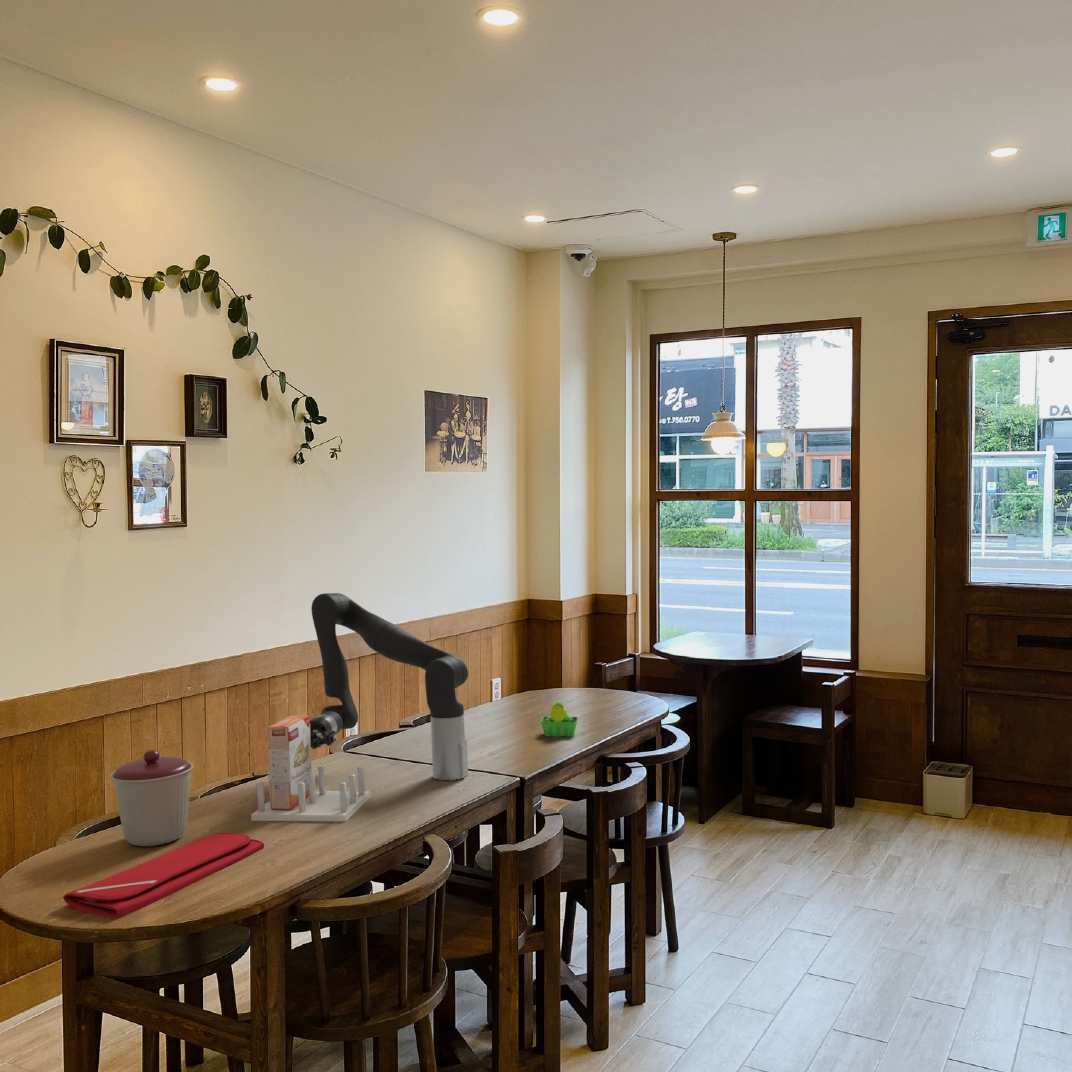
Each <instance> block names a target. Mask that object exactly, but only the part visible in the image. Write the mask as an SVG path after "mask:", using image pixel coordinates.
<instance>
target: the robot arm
mask: <svg viewBox="0 0 1072 1072" xmlns="http://www.w3.org/2000/svg"><path fill="white" fill-rule="evenodd" d="M310 611H311V616H312V620H313V621H312V622H313V627H314V630H315V633H316V634H315V635H316V638H317V641H318V642H317V643H318V645H319V646H318V647H319V650H320V651H319V652H320V656H321V661H322V671H323V681H324V682H323V684H324V693H325V696H327V697H328V698H335V699H338V700H339V701H340V703H341V704H335V705H328V706H324V707H323V708H322V710H321V711H320V712H321V713H320V715H317V716H314V717H313V718H310V738H311V750H316V749H319V748H321V747H323V746H325V745H326V746H327V747H328V746H329V747H330V746H332V745H333V744H334V743H335V742H336V741H337V734H339V732H341V730H348V729H353V728H355V727H356V725H357V723H358V721H359V714H358V711H357V707H356V704H355V702H354V699H353V697H352V692H351V689H350V679H349V678H350V677H349V668H348V664H347V661H346V658H345V656H344V653H343V651H342V650H341V648H340V645H339V642H338V641H339V640H338V638H337V632H336V631H337V630H336V629H337V627H336V625H339V626H343V627H344V628H346V629H347V628H348V629H349V630H351V631H353V632H355V633H356V634H358V635H359V636H360V637H361V638H362V639H363V641H364V643H365V644H366V645H367V646H368V648H370V649H371V650H373V651H374V652H376V653H377V654H380V655H381V656H383V657H385V658H387V659H389V660H391V661H394V662H397V663H401V664H406V665H409V666H414V667H417V668H420V669H422V670H424V671H425V672H424V673H425V674H424V686H425V696H426V703H427V704H426V705H427V707H428V709H429V713H430V734H431V735H430V736H431V737H430V738H431V758H432V759H431V760H432V761H431V762H432V777H433V779H435V780H437V779H438V781H443V780H444V781H445V780H449V781H457V780H462V779H461V778H464V779H465V778H466V777H467V776H468V774H469V764H468V763H469V762H468V740H467V739H466V735H465V711H464V710H465V709H464V704H463V703H462V702H460V701H458V700H457V696H456V689H457V688H458V687H461V686H463V684H465V683H466V681H467V680H468V676H469V671H468V668H467V667H468V666H467V665H466V663H465V662H464V660H462V659H461V658H460V657H459V656H456V655H455V654H453V653H449V652H447V651H444V650H442V649H439V648H438V647H435V646H433V645H432V644H431V645H430V644H429V643H427V642H426V641H424V640H422V639H420V638H419V637H418V636H415V635H414V634H412V633H409V631H406V630H405V629H403V628H401V627H399V626H398V625H396V624H394V623H392V622H391V621H388V620H386V619H385V618H383V617H381V616H379V615H377V614H375V613H372V612H370V611H369V610H367V609H365V608H364V607H362V606H361V605H360V604H358V603H357V602H356V601H354V600H353V599H351V598H350V597H349V596H347V595H345V594H342V593H339V592H332V593H331V592H330V593H329V592H328V593H327V592H326V593H319V594H318V595H317V596H316V597H314V599H313V600H312V603H311V610H310ZM465 776H466V777H465ZM456 779H457V780H456Z"/></svg>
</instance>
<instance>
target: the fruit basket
mask: <svg viewBox="0 0 1072 1072" xmlns="http://www.w3.org/2000/svg"><path fill="white" fill-rule="evenodd" d="M567 711H568V710H567V709H566V707H565V706H564V705H563V704H562V703H561V701H556V702H555V703H553V704H552V705H551V709H550V712H549V713H550V714H549V715H550V716H543V717H542V719H541V720H540V724H541V728H542V730H543V733H544V736H545V737H561V736H566V737H567V736H571V737H572V738H573V737H574V735H575V733H576V728H577V722H578V720H579V717H578V716H571V715H568V714H567Z"/></svg>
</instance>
